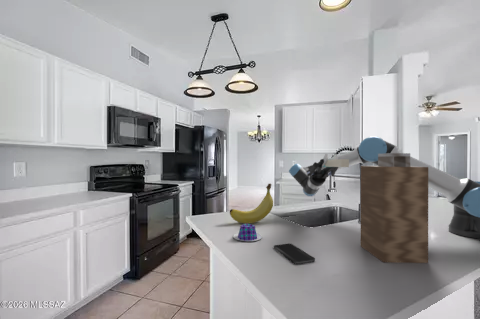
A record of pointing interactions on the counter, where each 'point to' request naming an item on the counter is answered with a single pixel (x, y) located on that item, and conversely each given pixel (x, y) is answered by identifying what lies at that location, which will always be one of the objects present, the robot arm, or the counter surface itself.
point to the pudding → (247, 233)
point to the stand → (395, 210)
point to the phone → (294, 254)
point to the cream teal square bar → (337, 163)
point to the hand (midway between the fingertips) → (331, 156)
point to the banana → (257, 212)
